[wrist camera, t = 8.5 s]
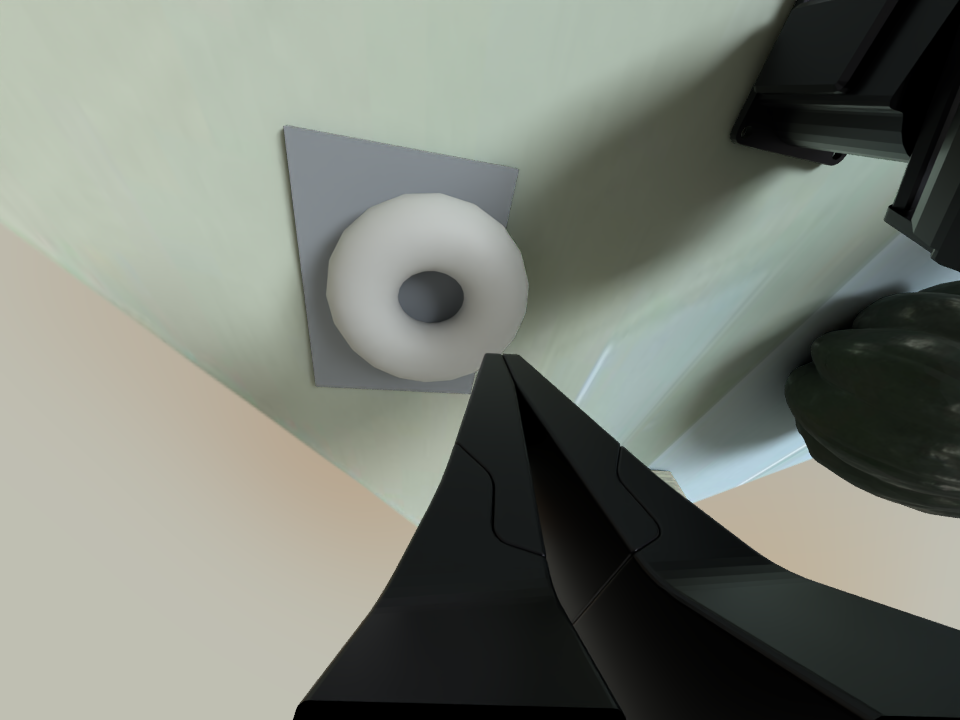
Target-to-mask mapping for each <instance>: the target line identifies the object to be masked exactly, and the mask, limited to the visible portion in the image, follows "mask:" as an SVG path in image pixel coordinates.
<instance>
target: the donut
mask: <svg viewBox="0 0 960 720" xmlns="http://www.w3.org/2000/svg"><path fill="white" fill-rule="evenodd" d="M423 271H437V272H441V273H445V274H447V275H449V276H450V277H452V278H454V279H455V280H456V281H457V282H458V283H459V284H460V285H461V287H462V290H463V292H464V301H463V304H462V307H461V308H460V310H459V311H458V312H457V314H456V315H454V316H453V317H451V318H450V319H448V320H445V321H442V322H436V323H426V322H421V321H417V320H415V319H413V318H411V317H410V316H409V315H408V314H406V313H405V312H404V311H403V309H402V307H401V306H400V304H399V301H398V293H399V289H400V287H401V285H402V283H403V282H404V281H405V280H407V279H408V278H409V277H411V276H412V275H414V274H417V273H420V272H423ZM528 289H529V283H528V278H527V274H526V270H525V266H524V262H523V258H522V254H521V251H520V250H519V248H518V247H517V245H516V244H515V242H514V241H513V239H512V238H511V236H510V235H509V233H508V232H507V230H506V229H505V227H504V226H503V225H502V224H501V223H499V222H498V221H497V220H495V219H494V218H493V217H491V216H490V215H489V214H487V213H486V212H485V211H483V210H482V209H481V208H479V207H478V206H477V205H475V204H473V203H470V202H467V201H463V200H460V199H457V198H454V197H451V196H448V195H445V194H442V193H420V194H403V195H400V196H398V197H395V198H393V199H390V200H387V201H385V202H382V203H380V204H377V205H374V206H372V207H370V208H369V209H367V210H366V211H365V212H364V213H363V214H362V215H361V216H360V217H359V218H357V219H356V220H355V221H354V222H353V223H352V224H351V225H350V226H348V227H347V228H346V229H345V230H344V231H343V233H342V235H341V237H340V239H339V241H338V243H337V245H336V247H335V249H334V251H333V253H332V255H331V257H330V259H329V267H328V278H327V290H326V297H327V300H328V304H329V307H330V311H331V314H332V318H333V321H334V324H335V325H336V327H337V328H338V330H339V331H340V333H341V334H342V336H343V337H344V338H345V340H346V341H347V343H348V344H349V346H350V347H351V349H352V350H353V351H354V352H356V353H357V354H358V355H359V356H361V357H362V358H363V359H364V360H366V361H367V362H368V363H369V364H371V365H372V366H373V367H375V368H377V369H379V370H382V371H384V372H386V373H389V374H391V375H393V376H396V377H398V378H403V379H409V380H415V381H421V382H433V381H446V380H453V379H456V378H459V377H462V376H465V375H468V374H471V373H474V372H476V371H478V370H479V369H480V366H481V363H482V360H483V357H484V354H485V353H498V354H501V353H502V352H503V351H504V350H505V349H506V347H507V346H508V345H509V344H510V343H511V342H512V341H513V339H514V338H515V336H516V334H517V332H518V329H519V327H520V325H521V323H522V320H523V318H524V316H525V314H526V309H527V299H528Z"/></svg>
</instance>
